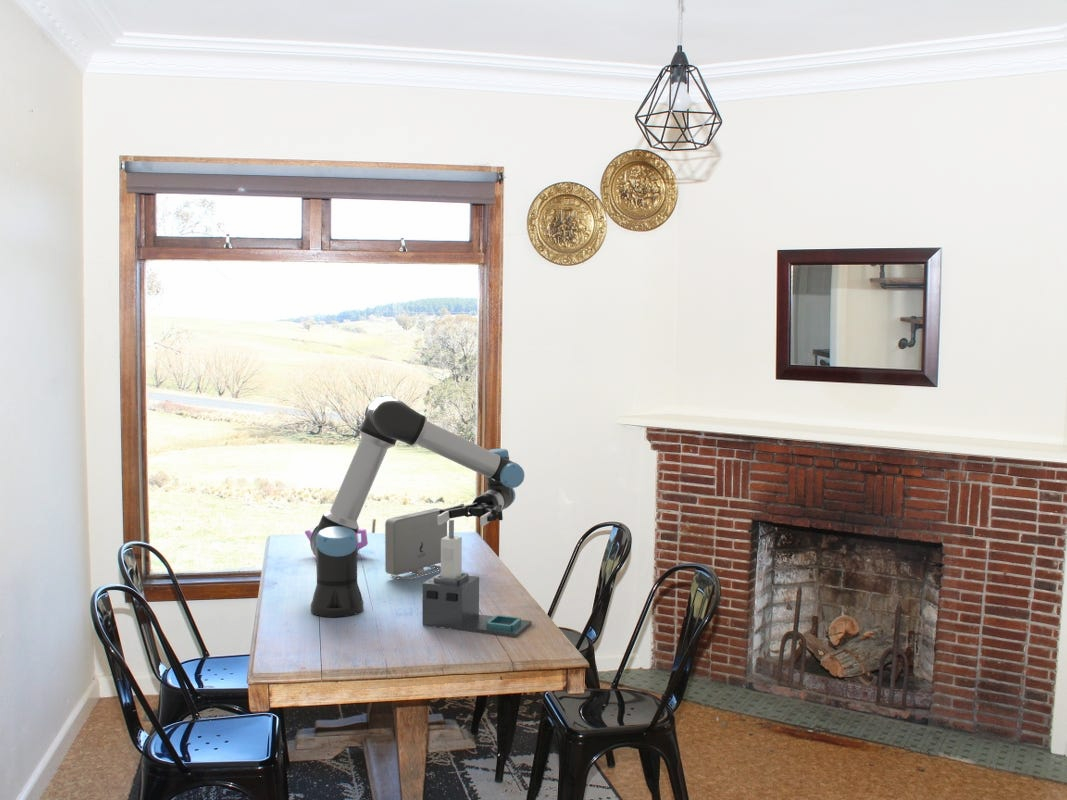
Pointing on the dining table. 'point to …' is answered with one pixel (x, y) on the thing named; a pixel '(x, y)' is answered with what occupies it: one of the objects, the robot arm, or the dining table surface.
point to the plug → (451, 555)
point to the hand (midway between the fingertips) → (459, 521)
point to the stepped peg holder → (463, 608)
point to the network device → (413, 543)
